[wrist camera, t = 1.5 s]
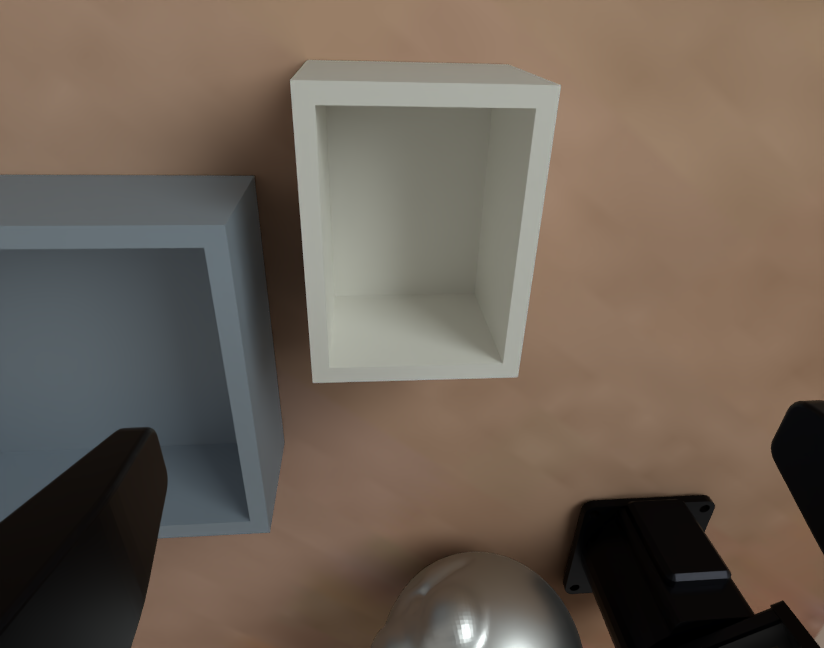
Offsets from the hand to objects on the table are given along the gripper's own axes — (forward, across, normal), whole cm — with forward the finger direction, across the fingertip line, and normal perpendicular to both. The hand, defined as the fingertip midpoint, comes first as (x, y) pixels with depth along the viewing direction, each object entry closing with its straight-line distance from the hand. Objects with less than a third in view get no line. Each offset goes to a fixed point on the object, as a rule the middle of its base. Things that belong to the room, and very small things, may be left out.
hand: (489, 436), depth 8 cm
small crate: (+12, 0, +1) cm, 12 cm away
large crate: (+12, +12, +6) cm, 18 cm away
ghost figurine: (+12, -3, +19) cm, 22 cm away
